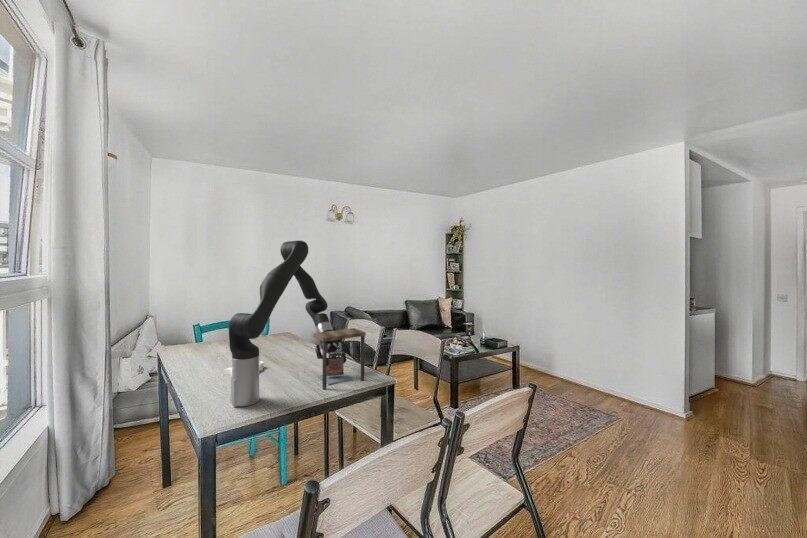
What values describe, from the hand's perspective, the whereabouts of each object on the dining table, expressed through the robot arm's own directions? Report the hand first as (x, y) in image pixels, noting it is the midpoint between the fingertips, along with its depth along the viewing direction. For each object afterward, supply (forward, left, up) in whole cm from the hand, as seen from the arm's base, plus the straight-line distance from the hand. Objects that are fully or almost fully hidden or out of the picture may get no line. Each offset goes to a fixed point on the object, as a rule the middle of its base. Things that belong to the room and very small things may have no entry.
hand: (336, 363), depth 151 cm
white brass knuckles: (-31, +33, -8) cm, 46 cm away
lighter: (0, +1, -5) cm, 6 cm away
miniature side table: (0, -3, -7) cm, 8 cm away
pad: (0, +1, -7) cm, 7 cm away
